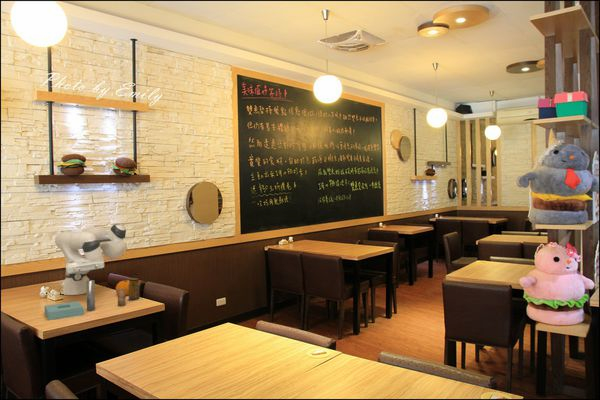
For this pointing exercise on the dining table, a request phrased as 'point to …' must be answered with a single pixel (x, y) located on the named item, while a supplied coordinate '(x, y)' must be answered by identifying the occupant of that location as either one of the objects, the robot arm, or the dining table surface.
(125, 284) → the fruit
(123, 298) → the short pin
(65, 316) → the hole plate
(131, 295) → the condiment
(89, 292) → the long pin
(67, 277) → the robot arm
